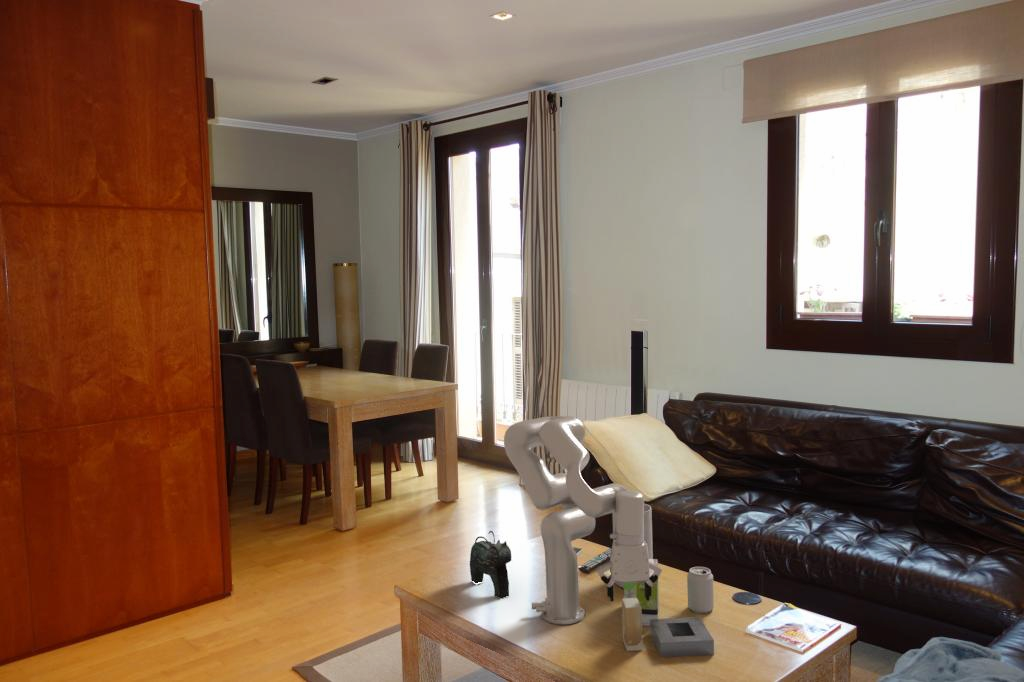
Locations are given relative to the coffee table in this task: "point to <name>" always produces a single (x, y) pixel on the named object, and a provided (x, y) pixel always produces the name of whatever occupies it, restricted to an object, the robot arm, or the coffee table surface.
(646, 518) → the cylinder vase
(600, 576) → the robot arm
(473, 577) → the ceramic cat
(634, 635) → the skincare box
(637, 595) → the tea box
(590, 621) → the coffee table surface
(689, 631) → the holder
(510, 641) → the coffee table surface
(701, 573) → the can
